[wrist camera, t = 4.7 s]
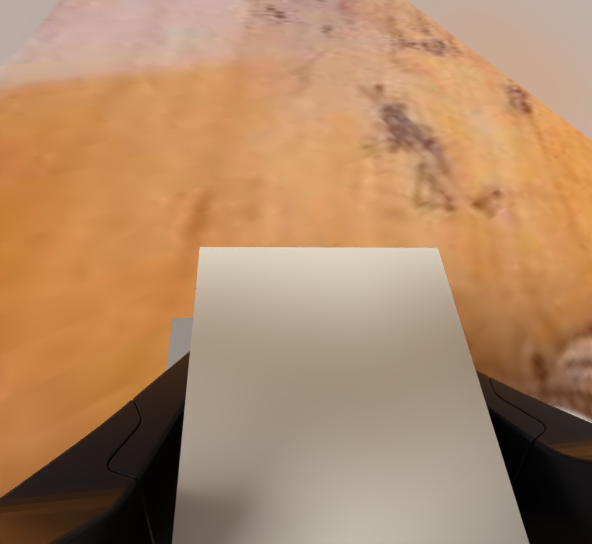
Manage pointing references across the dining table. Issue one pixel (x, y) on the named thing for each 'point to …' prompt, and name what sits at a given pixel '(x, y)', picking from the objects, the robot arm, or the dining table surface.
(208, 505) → the cream block
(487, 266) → the dining table surface
